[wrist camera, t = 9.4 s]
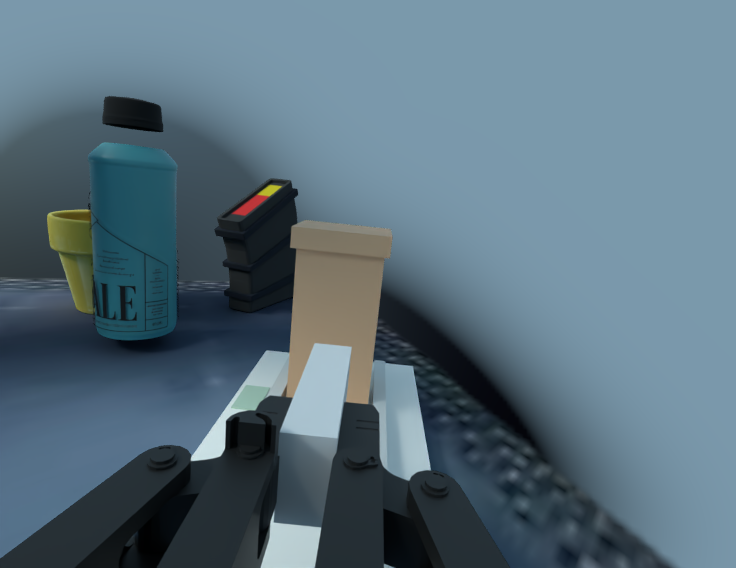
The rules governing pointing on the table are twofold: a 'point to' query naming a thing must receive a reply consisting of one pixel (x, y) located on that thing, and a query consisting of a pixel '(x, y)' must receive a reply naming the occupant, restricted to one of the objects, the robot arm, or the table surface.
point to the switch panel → (397, 441)
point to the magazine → (260, 246)
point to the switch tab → (337, 297)
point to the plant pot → (74, 252)
